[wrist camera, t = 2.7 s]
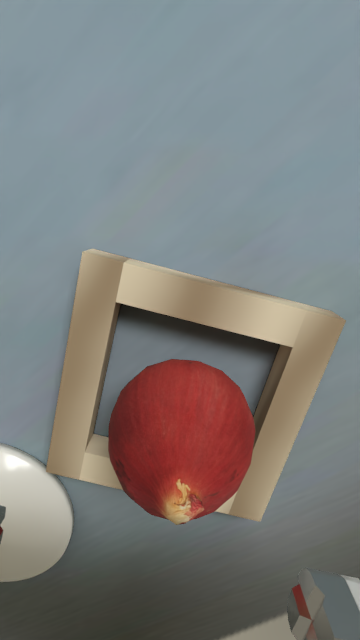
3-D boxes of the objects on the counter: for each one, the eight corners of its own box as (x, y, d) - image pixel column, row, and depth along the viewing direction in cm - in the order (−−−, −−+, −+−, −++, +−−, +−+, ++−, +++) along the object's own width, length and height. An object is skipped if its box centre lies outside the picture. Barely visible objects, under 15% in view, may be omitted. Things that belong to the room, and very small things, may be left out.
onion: (210, 450, 18) (225, 620, 10) (111, 412, 18) (50, 561, 10) (259, 360, 16) (319, 483, 9) (151, 316, 16) (115, 405, 8)
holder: (331, 311, 16) (346, 320, 14) (255, 498, 19) (260, 521, 17) (92, 248, 15) (82, 251, 14) (57, 452, 18) (45, 472, 17)
